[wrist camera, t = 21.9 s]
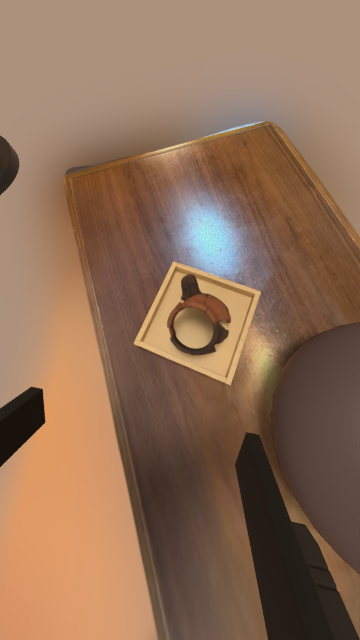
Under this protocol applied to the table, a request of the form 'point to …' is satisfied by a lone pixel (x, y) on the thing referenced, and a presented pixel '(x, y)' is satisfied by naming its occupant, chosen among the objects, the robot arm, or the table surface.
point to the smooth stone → (323, 435)
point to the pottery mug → (204, 303)
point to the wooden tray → (199, 323)
